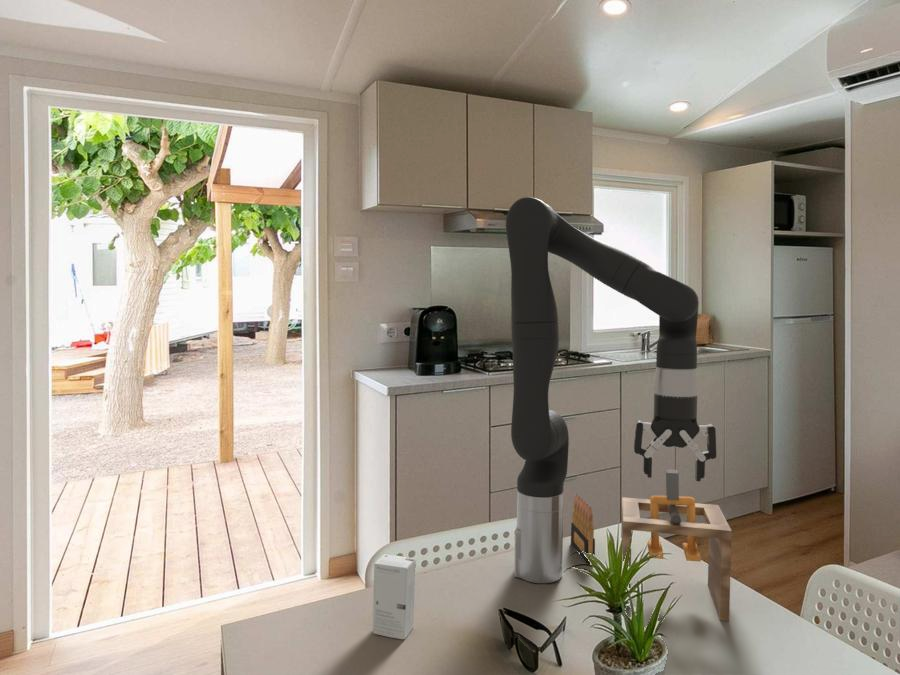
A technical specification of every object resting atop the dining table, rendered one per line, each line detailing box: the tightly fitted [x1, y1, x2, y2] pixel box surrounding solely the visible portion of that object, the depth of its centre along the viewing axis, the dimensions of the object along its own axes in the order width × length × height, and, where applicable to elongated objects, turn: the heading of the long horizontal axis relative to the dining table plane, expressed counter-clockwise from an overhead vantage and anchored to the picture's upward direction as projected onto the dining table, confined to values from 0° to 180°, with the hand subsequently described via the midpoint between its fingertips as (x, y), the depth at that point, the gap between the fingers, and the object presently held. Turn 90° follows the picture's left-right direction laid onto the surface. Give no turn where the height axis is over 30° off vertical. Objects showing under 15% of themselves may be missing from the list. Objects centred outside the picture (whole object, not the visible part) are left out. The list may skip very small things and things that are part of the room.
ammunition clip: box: [570, 493, 596, 564], centre depth 135 cm, size 11×2×12 cm, turn 7°
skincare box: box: [372, 553, 417, 640], centre depth 103 cm, size 6×4×12 cm
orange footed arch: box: [647, 469, 702, 562], centre depth 115 cm, size 9×6×16 cm
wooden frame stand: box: [620, 496, 733, 622], centre depth 115 cm, size 18×14×18 cm
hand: (673, 478), depth 114 cm, fingers open, 8 cm apart
